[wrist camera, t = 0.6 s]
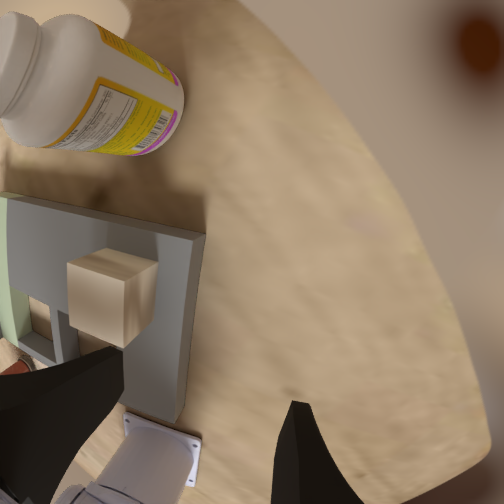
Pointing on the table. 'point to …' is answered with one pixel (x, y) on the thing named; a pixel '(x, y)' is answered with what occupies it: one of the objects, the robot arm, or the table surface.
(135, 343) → the grey divided tray
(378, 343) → the table surface
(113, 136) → the supplement bottle
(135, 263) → the block
